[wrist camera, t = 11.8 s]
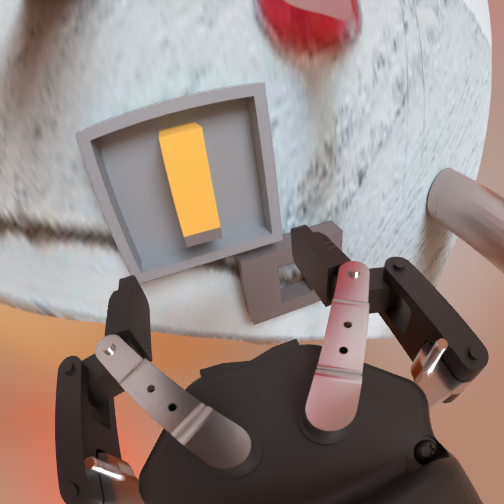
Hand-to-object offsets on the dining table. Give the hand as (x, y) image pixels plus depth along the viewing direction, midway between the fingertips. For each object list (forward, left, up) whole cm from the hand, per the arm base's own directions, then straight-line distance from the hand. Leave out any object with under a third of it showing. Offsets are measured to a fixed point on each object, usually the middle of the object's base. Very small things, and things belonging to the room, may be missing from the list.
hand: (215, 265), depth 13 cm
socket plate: (-9, +14, -14) cm, 21 cm away
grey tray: (0, 0, -14) cm, 14 cm away
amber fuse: (0, -5, -11) cm, 12 cm away
